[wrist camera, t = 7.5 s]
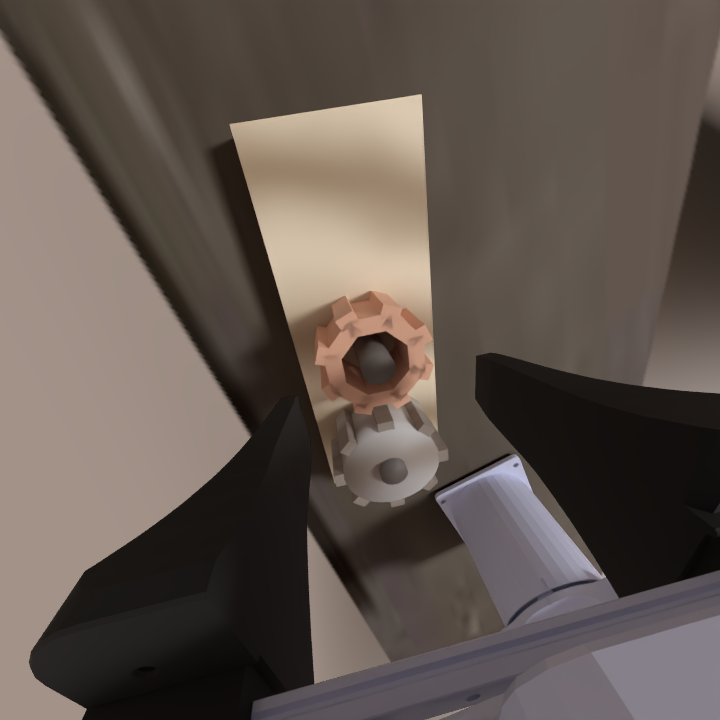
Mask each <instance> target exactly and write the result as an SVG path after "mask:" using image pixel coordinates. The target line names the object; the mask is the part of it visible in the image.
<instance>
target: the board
mask: <svg viewBox="0 0 720 720" xmlns="http://www.w3.org/2000/svg"><path fill="white" fill-rule="evenodd" d="M230 127H231V131H232V134H233V138H234V141H235V145H236V148H237V151H238V155H239V158H240V162H241V165H242V168H243V172H244V175H245V179H246V182H247V185H248V189H249V192H250V196H251V199H252V203H253V206H254V209H255V213H256V216H257V220H258V223H259V226H260V230H261V233H262V237H263V240H264V244H265V247H266V250H267V254H268V257H269V261H270V264H271V267H272V271H273V274H274V278H275V281H276V285H277V288H278V291H279V295H280V298H281V302H282V305H283V308H284V312H285V315H286V319H287V322H288V325H289V329H290V332H291V336H292V339H293V343H294V346H295V349H296V353H297V356H298V360H299V363H300V366H301V370H302V373H303V377H304V380H305V384H306V387H307V390H308V394H309V397H310V401H311V404H312V407H313V411H314V414H315V418H316V421H317V425H318V428H319V431H320V435H321V438H322V442H323V445H324V448H325V452H326V455H327V459H328V462H329V466H330V469H331V472H332V476H333V479H334V483H336V486H337V487H339V486H343V485H347V486H348V488H349V489H350V490H351V492H352V499H353V503H355V504H358V505H361V506H364V507H365V506H366V505H367V504H368V503H369V502H370V501H373V502H390V504H391V507H395V506H399V505H403V504H405V501H404V498H406V497H408V496H410V495H412V494H414V493H416V492H418V491H419V490H420V489H422V488H424V489H426V490H428V491H429V490H430V489H431V488H432V487H433V486H434V485H435V484H436V483H437V482H438V480H437V478H436V476H435V473H436V471H437V468H438V464H439V462H442V461H447V460H448V448H447V447H446V445H445V443H444V442H443V440H442V438H441V437H440V435H439V434H438V428H437V407H436V386H435V365H434V367H433V369H432V372H431V375H430V377H429V380H421V379H419V381H418V382H417V383H416V384H415V385H414V386H413V388H412V389H411V390H410V391H409V392H408V395H409V397H410V399H411V401H409V402H408V403H406V404H404V405H403V406H401V407H399V408H398V409H396V407H395V406H394V405H393V403H390V404H385V405H381V406H376V407H373V410H372V413H371V415H367V414H358V413H354V409H353V404H352V403H351V402H349V401H347V400H345V399H343V398H341V397H339V398H337V399H336V400H334V401H333V402H332V401H331V400H330V399H329V398H328V397H327V395H326V394H325V393H324V392H323V391H322V389H321V368H320V365H315V336H316V331H317V326H321V327H327V325H328V324H329V322H330V321H331V320H332V318H333V317H334V315H333V310H332V306H331V305H332V304H333V303H335V302H336V301H338V300H339V299H341V298H342V297H344V296H346V297H347V299H348V300H349V302H350V303H353V302H358V301H363V300H368V299H369V296H370V292H371V291H376V292H381V293H385V294H388V295H389V296H390V297H391V298H392V299H393V300H394V301H395V302H396V303H397V304H398V305H400V306H401V307H402V310H403V309H405V308H407V309H408V310H409V311H410V312H411V313H412V314H414V315H415V316H416V317H417V318H418V319H419V320H420V321H422V322H423V323H424V324H425V325H426V327H427V329H428V331H429V333H430V335H431V337H432V339H433V323H432V302H431V281H430V260H429V239H428V218H427V197H426V176H425V155H424V135H423V114H422V94H421V95H415V96H408V97H402V98H395V99H389V100H382V101H376V102H370V103H363V104H357V105H350V106H344V107H338V108H331V109H325V110H318V111H312V112H306V113H299V114H293V115H286V116H280V117H274V118H267V119H261V120H254V121H248V122H242V123H235V124H230ZM393 347H394V340H393V335H391V334H390V333H388V332H387V331H384V332H379V333H374V334H370V335H365V336H360V337H357V339H356V340H355V341H354V343H353V344H352V346H351V347H350V348H349V350H348V351H347V352H346V354H345V355H344V357H343V359H344V360H346V361H348V362H349V363H351V364H353V365H355V366H356V367H358V368H360V369H361V372H362V375H363V377H364V379H365V380H366V381H367V382H369V383H371V384H375V385H379V384H383V383H386V382H387V381H389V380H390V379H391V378H392V377H393V375H394V373H395V363H394V361H393V359H392V357H391V356H390V354H389V353H390V351H391V350H392V349H393ZM424 352H425V355H426V356H427V357H428V358H429V360H430V361H431V362H432V363H433V364H434V344H433V340H431V341H430V342H428V343H426V344H425V345H424Z"/></svg>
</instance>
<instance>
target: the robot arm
mask: <svg viewBox="0 0 720 720" xmlns="http://www.w3.org/2000/svg"><path fill="white" fill-rule="evenodd" d="M475 399H476V400H477V402H478V404H479V405H480V407H481V408H482V410H483V411H484V413H485V414H486V416H487V417H488V418H489V420H490V421H491V422H492V423H493V424H494V425H495V426H496V428H497V429H498V430H499V431H500V432H501V433H502V434H503V435H504V437H505V438H506V439H507V440H508V441H509V442H510V443H511V444H512V445H513V447H514V448H515V449H516V450H517V451H518V452H519V453H520V454H521V455H522V456H523V458H524V459H525V460H526V461H527V462H528V463H529V464H530V466H531V467H532V468H533V469H534V471H535V472H536V473H537V474H538V476H539V477H540V478H541V480H542V481H543V483H544V484H545V485H546V487H547V488H548V489H549V491H550V492H551V493H552V495H553V496H554V498H555V499H556V501H557V502H558V503H559V505H560V506H561V508H562V509H563V511H564V512H565V514H566V515H567V516H568V518H569V519H570V521H571V522H572V524H573V525H574V527H575V528H576V530H577V531H578V533H579V535H580V536H581V538H582V539H583V541H584V542H585V544H586V545H587V547H588V548H589V550H590V552H591V553H592V555H593V556H594V558H595V559H596V561H597V563H598V564H599V566H600V568H601V569H602V571H603V573H604V574H605V576H606V578H602V576H601V575H600V574H599V573H598V572H597V570H596V569H595V568H594V567H593V566H592V564H591V563H590V562H589V561H588V559H587V558H586V557H585V556H584V555H583V553H582V552H581V551H580V550H579V549H578V547H577V546H576V545H575V544H574V542H573V541H572V540H571V539H570V538H569V536H568V535H567V534H566V533H565V532H564V530H563V529H562V528H561V527H560V525H559V524H558V523H557V522H556V521H555V519H554V518H553V517H552V516H551V514H550V513H549V512H548V511H547V510H546V508H545V507H544V506H543V505H542V504H541V502H540V501H539V500H538V499H537V497H536V496H535V495H534V494H533V492H532V489H531V487H530V484H529V482H528V479H527V477H526V474H525V471H524V469H523V466H522V464H521V461H520V459H519V457H518V456H517V455H515V454H514V455H510V456H508V457H506V458H504V459H502V460H500V461H498V462H496V463H494V464H492V465H490V466H488V467H486V468H484V469H482V470H480V471H478V472H477V473H475V474H473V475H471V476H469V477H467V478H465V479H463V480H461V481H459V482H457V483H455V484H453V485H451V486H449V487H447V488H445V489H443V490H441V491H439V492H437V493H436V494H435V499H436V501H437V503H438V504H439V505H440V507H441V508H442V510H443V511H444V513H445V514H446V516H447V517H448V519H449V520H450V522H451V523H452V525H453V526H454V528H455V529H456V530H457V532H458V533H459V535H460V536H461V538H462V539H463V541H464V542H465V544H466V546H467V548H468V550H469V552H470V554H471V556H472V558H473V560H474V562H475V564H476V567H477V569H478V571H479V573H480V575H481V577H482V579H483V581H484V583H485V585H486V587H487V590H488V592H489V594H490V596H491V598H492V600H493V602H494V604H495V606H496V608H497V610H498V613H499V615H500V617H501V619H502V621H503V623H504V625H505V627H504V628H503V629H501V632H498V633H494V634H491V635H487V636H483V637H480V638H476V639H473V640H469V641H466V642H462V643H458V644H455V645H451V646H448V647H444V648H441V649H437V650H434V651H430V652H426V653H423V654H419V655H416V656H412V657H409V658H405V659H401V660H398V661H394V662H391V663H387V664H384V665H380V666H377V667H373V668H370V669H366V670H363V671H359V672H355V673H352V674H348V675H345V676H341V677H337V678H334V679H330V680H327V681H323V682H320V683H316V684H314V672H313V656H312V641H311V625H310V604H309V585H308V554H307V513H308V499H309V486H310V472H311V443H310V434H309V431H308V428H307V425H306V421H305V418H304V415H303V412H302V409H301V406H300V402H299V399H298V396H297V395H294V396H289V397H285V398H281V399H280V401H279V402H278V403H277V404H276V406H275V407H274V409H273V410H272V411H271V413H270V414H269V415H268V417H267V418H266V419H265V421H264V422H263V423H262V424H261V426H260V427H259V428H258V430H257V431H256V432H255V433H254V434H253V436H252V437H251V438H250V439H249V440H248V441H247V443H246V444H245V445H244V446H243V447H242V449H241V450H240V451H239V452H238V453H237V454H236V455H235V456H234V457H233V458H232V459H231V460H230V462H228V463H227V464H226V465H225V466H224V467H223V468H222V469H221V470H220V471H219V472H218V473H217V474H216V475H215V476H214V477H213V478H212V479H211V480H209V481H208V482H207V483H206V484H205V485H204V486H203V487H201V488H200V489H199V490H198V491H197V492H195V493H194V494H193V495H192V496H191V497H190V498H189V499H187V500H186V501H185V502H184V503H182V504H181V505H180V506H179V507H178V508H176V509H175V510H173V511H172V512H171V513H170V514H168V515H167V516H166V517H164V518H163V519H162V520H160V521H159V522H157V523H156V524H155V525H153V526H152V527H151V528H149V529H148V530H147V531H145V532H144V533H142V534H141V535H139V536H138V537H137V538H135V539H133V540H132V541H130V542H129V543H127V544H126V545H125V546H123V547H121V548H120V549H119V550H117V551H115V552H114V553H112V554H111V555H109V556H108V557H106V558H105V559H103V560H102V561H100V562H99V563H97V564H96V565H94V566H93V567H91V568H89V569H88V570H86V571H85V572H84V573H83V575H82V576H81V578H80V579H79V581H78V582H77V584H76V585H75V587H74V588H73V590H72V591H71V593H70V594H69V596H68V597H67V599H66V600H65V602H64V603H63V605H62V606H61V608H60V610H59V611H58V612H57V614H56V615H55V617H54V618H53V620H52V621H51V623H50V624H49V626H48V627H47V629H46V630H45V632H44V633H43V635H42V636H41V638H40V639H39V641H38V642H37V644H36V645H35V646H34V648H33V650H32V651H31V655H30V660H29V664H30V668H31V670H32V672H33V674H34V676H35V678H36V679H38V680H39V681H40V682H42V683H43V684H44V685H45V686H47V687H49V688H51V689H53V690H54V691H56V692H58V693H60V694H61V695H63V696H65V697H67V698H68V699H70V700H72V701H74V702H76V703H78V704H79V705H81V706H83V707H84V708H86V709H87V710H86V712H85V714H84V717H83V719H82V720H425V719H429V718H432V717H435V716H439V715H442V714H445V713H449V712H452V711H456V710H459V709H462V708H466V707H469V706H471V707H469V708H466V709H464V710H462V711H459V712H457V713H455V714H452V715H450V716H447V717H445V718H443V719H440V720H720V394H717V393H702V392H689V391H678V390H668V389H660V388H652V387H644V386H636V385H629V384H622V383H616V382H611V381H605V380H600V379H594V378H589V377H585V376H580V375H576V374H572V373H568V372H563V371H559V370H556V369H552V368H548V367H544V366H541V365H537V364H534V363H530V362H527V361H523V360H519V359H516V358H512V357H509V356H505V355H501V354H496V353H487V354H482V355H478V356H476V387H475Z"/></svg>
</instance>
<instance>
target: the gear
mask: <svg viewBox="0 0 720 720" xmlns="http://www.w3.org/2000/svg"><path fill="white" fill-rule="evenodd" d="M331 306H332V310H333V315H334V317H333V318H332V320H331V321H330V322H329V324H328V325H327V327H321V326H317V331H316V336H315V365H320V368H321V389H322V391H323V392H324V393H325V394H326V395H327V397H328V398H329V399H330V400H331V401H332V402H333V401H334V400H336V399H337V398H339V397H341V398H343V399H345V400H347V401H349V402H351V403H352V404H353V409H354V413H358V414H367V415H371V413H372V410H373V407H376V406H381V405H385V404H390V403H393V405H394V406H395V407H396V409H398V408H399V407H401V406H403V405H404V404H406V403H408V402H409V401H411V399H410V397H409V395H408V392H409V391H410V390H411V389H412V388H413V386H414V385H415V384H416V383H417V382H418V381H419V379H421V380H429V377H430V375H431V372H432V369H433V367H434V364H433V363H432V362H431V361H430V360H429V358H428V357H427V356H426V355H425V352H424V345H425V344H426V343H428V342H430V341H431V340H433V339H432V337H431V335H430V333H429V331H428V329H427V327H426V325H425V324H424V323H423V322H422V321H420V320H419V319H418V318H417V317H416V316H415V315H414V314H412V313H411V312H410V311H409V310H408V309H407V308H405V309H403V310H402V307H401V306H400V305H398V304H397V303H396V302H395V301H394V300H393V299H392V298H391V297H390V296H389V295H388V294H385V293H381V292H376V291H371V292H370V296H369V299H368V300H363V301H358V302H353V303H350V302H349V300H348V299H347V297H346V296H344V297H342V298H341V299H339V300H338V301H336V302H335V303H333V304H332V305H331ZM384 331H387V332H388V333H390V334H391V335H393V340H394V347H393V349H392V350H391V351H390V353H389V354H390V356H391V357H392V359H393V361H394V363H395V373H394V375H393V377H392V378H391V379H390V380H389V381H387V382H386V383H383V384H379V385H375V384H371V383H369V382H367V381H366V380H365V379H364V377H363V375H362V372H361V369H360V368H358V367H356V366H355V365H353V364H351V363H349V362H348V361H346V360H344V359H343V357H344V355H345V354H346V352H347V351H348V350H349V348H350V347H351V346H352V344H353V343H354V341H355V340H356V339H357V337H360V336H365V335H370V334H374V333H379V332H384Z"/></svg>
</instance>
